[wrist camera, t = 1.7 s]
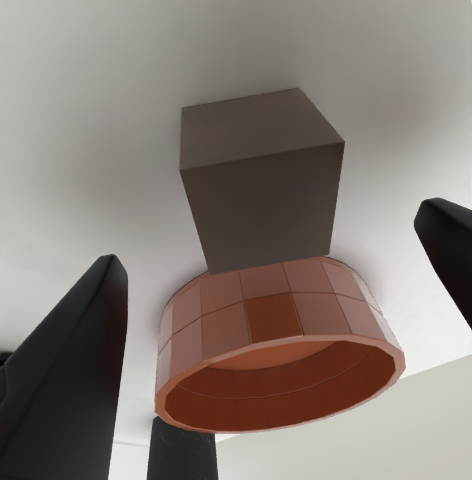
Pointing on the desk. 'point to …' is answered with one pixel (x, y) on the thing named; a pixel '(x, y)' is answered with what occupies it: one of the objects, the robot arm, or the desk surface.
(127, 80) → the desk surface
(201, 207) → the block
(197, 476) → the travel mug
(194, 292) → the bowl
